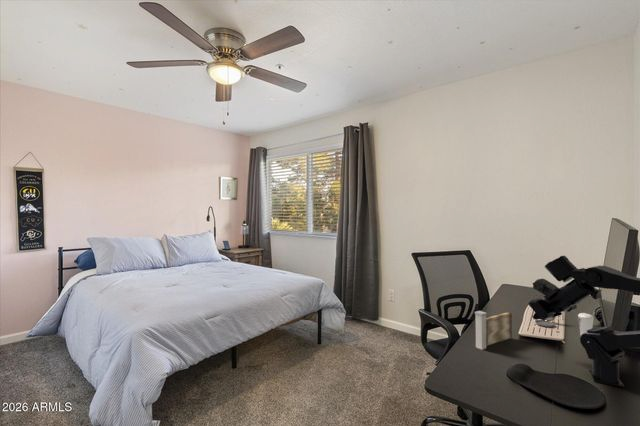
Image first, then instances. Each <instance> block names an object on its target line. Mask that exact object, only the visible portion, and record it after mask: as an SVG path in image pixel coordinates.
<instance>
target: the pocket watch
mask: <svg viewBox="0 0 640 426" xmlns="http://www.w3.org/2000/svg"><path fill="white" fill-rule="evenodd" d="M555 319H556V317H553V318H549V319H546V320H547V321H545V320H541V319H536V320H535V321H534V322H535V324H536V325H538V326H541V327H546V328H552V327H554V326H555V323H554V322H553V321H554V320H555Z"/></svg>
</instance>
